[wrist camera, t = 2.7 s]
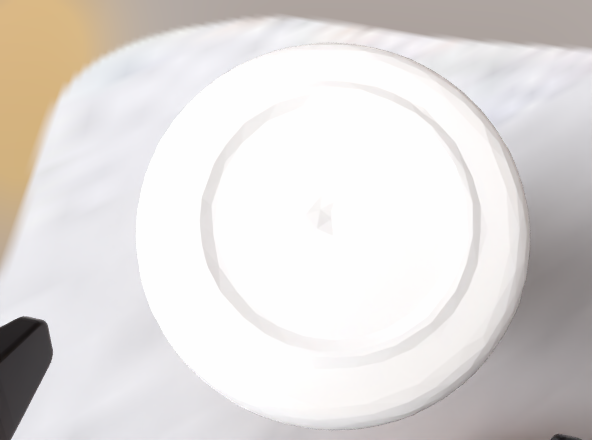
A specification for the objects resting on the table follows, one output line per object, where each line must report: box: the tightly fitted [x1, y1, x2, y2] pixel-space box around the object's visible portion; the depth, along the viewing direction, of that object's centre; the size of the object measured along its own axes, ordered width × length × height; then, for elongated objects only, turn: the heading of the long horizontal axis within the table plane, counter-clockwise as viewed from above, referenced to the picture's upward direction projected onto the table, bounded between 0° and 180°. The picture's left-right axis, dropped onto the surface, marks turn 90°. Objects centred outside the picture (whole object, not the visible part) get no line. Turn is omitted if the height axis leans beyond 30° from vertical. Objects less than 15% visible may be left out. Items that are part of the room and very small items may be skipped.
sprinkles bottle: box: [136, 43, 530, 430], centre depth 12 cm, size 5×5×13 cm
